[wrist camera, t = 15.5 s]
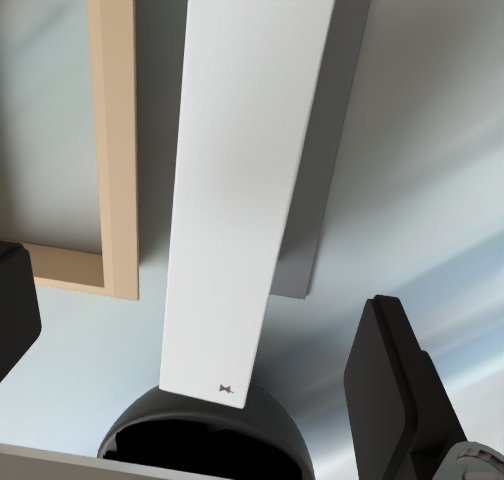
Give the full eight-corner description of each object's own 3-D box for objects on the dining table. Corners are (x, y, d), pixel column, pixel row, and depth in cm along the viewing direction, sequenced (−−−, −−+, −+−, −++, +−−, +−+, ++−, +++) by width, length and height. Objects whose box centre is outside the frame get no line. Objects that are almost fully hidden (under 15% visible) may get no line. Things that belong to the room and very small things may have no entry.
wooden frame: (-114, -113, 26) (-199, -147, 22) (160, -80, 25) (131, -107, 21) (-32, 241, 38) (-75, 267, 34) (156, 270, 37) (137, 301, 33)
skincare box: (249, -22, 26) (192, -106, 12) (331, -7, 26) (374, -73, 11) (212, 255, 35) (155, 395, 21) (271, 266, 35) (254, 415, 21)
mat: (209, -78, 25) (207, -81, 25) (381, -57, 25) (383, -60, 24) (189, 277, 37) (188, 281, 37) (304, 295, 37) (304, 299, 36)
